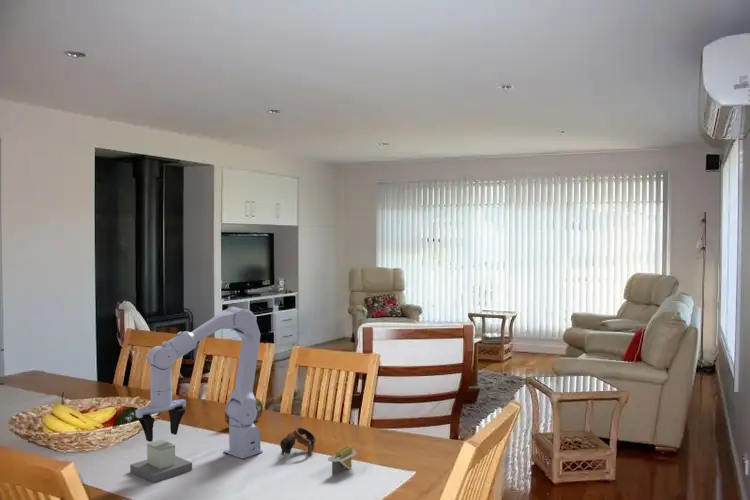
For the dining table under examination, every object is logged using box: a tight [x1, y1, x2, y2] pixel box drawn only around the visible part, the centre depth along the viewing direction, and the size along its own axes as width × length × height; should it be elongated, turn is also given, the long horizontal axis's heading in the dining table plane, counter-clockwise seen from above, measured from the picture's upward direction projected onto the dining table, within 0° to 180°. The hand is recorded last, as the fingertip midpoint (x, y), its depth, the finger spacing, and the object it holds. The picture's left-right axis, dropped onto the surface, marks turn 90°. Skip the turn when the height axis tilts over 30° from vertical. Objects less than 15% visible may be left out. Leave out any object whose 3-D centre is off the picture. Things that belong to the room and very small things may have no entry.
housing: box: [146, 439, 176, 469], centre depth 175 cm, size 4×7×6 cm, turn 49°
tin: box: [224, 397, 263, 426], centre depth 218 cm, size 15×3×8 cm, turn 141°
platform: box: [327, 445, 357, 475], centre depth 175 cm, size 12×18×7 cm, turn 146°
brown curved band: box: [279, 427, 317, 456], centre depth 189 cm, size 12×10×8 cm
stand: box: [129, 455, 193, 484], centre depth 175 cm, size 12×12×2 cm
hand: (161, 437), depth 175 cm, fingers open, 7 cm apart
